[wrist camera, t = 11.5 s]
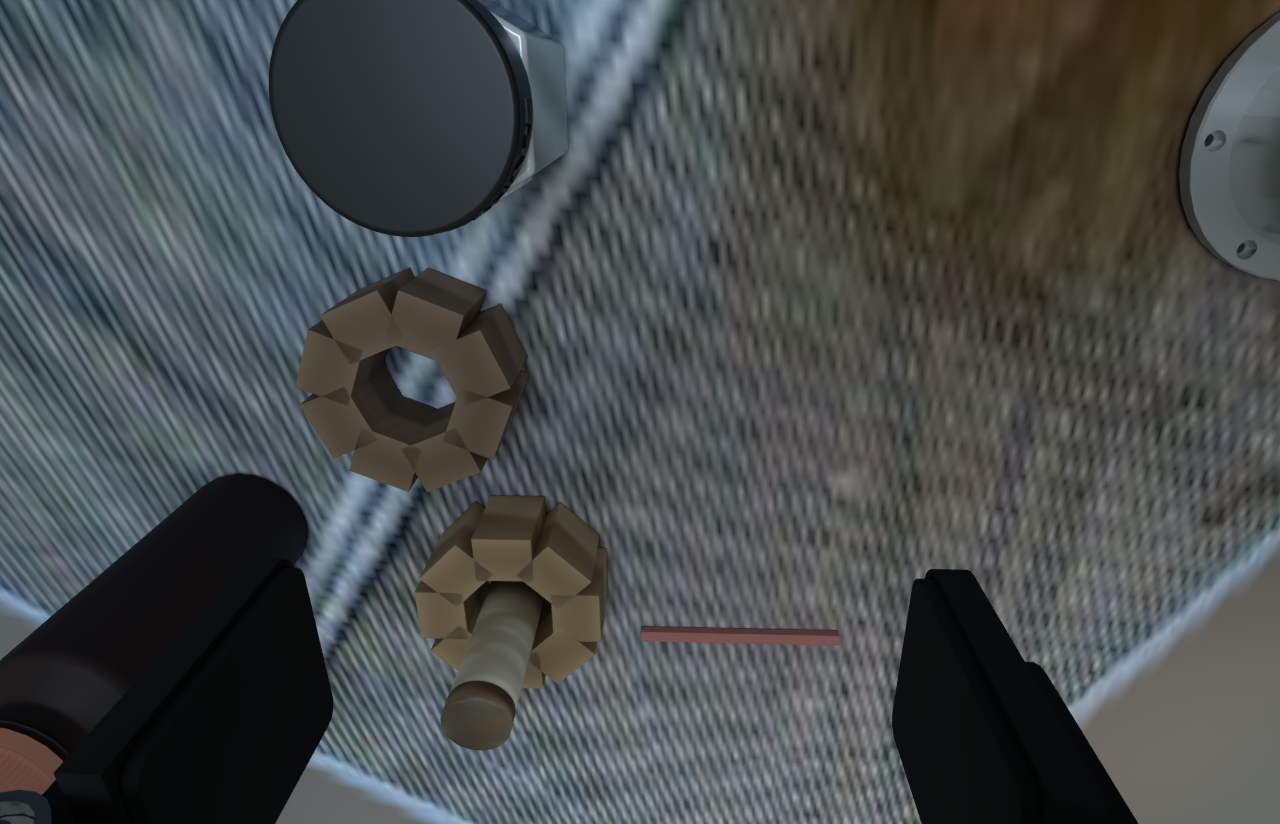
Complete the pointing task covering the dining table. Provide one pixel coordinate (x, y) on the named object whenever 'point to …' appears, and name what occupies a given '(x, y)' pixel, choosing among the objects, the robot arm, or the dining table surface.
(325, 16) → the jar
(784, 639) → the reddish brown square stick
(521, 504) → the bead
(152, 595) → the bottle
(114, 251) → the dining table surface
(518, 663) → the dowel
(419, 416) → the bead
